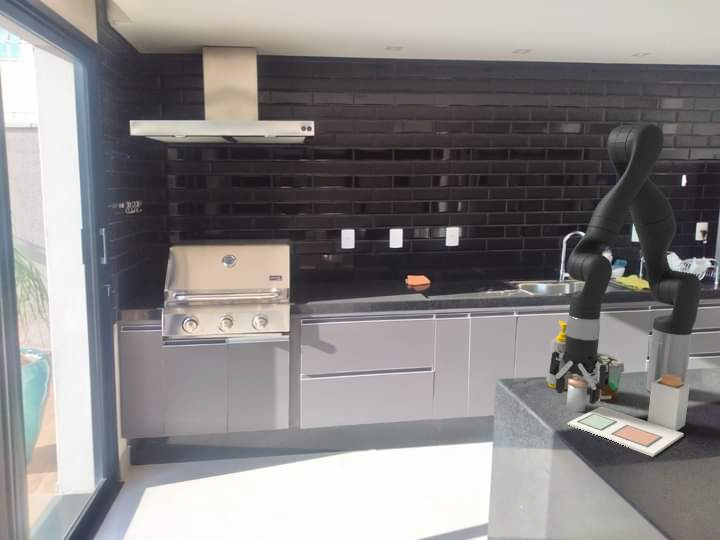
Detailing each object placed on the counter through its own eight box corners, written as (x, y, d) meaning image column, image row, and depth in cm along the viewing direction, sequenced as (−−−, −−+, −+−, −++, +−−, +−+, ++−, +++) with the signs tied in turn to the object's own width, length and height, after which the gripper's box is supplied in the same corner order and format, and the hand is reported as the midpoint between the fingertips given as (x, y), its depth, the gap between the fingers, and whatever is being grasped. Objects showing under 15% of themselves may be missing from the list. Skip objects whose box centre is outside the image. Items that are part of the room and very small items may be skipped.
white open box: (657, 416, 135) (662, 377, 134) (684, 425, 131) (689, 384, 129) (647, 423, 132) (651, 382, 130) (674, 432, 127) (679, 390, 125)
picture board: (600, 408, 139) (601, 405, 139) (683, 435, 125) (683, 432, 125) (567, 425, 129) (567, 422, 129) (653, 456, 115) (653, 453, 115)
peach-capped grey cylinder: (571, 403, 142) (574, 375, 141) (589, 409, 139) (591, 380, 138) (562, 407, 139) (564, 378, 138) (579, 413, 136) (582, 384, 135)
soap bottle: (566, 381, 158) (571, 320, 155) (576, 390, 151) (582, 326, 148) (542, 381, 158) (547, 319, 155) (551, 390, 151) (556, 326, 148)
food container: (626, 406, 142) (630, 368, 140) (600, 403, 143) (604, 366, 141) (614, 389, 154) (618, 354, 152) (591, 386, 155) (594, 352, 153)
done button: (664, 383, 133) (665, 373, 132) (683, 388, 130) (684, 378, 129) (657, 386, 130) (658, 376, 130) (676, 392, 127) (677, 381, 127)
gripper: (618, 338, 133) (611, 403, 136) (563, 326, 144) (557, 386, 146) (603, 343, 128) (596, 410, 131) (547, 330, 139) (542, 392, 142)
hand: (576, 397), depth 139 cm, fingers open, 8 cm apart
